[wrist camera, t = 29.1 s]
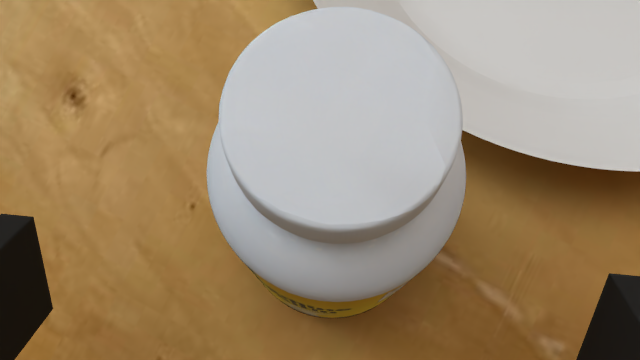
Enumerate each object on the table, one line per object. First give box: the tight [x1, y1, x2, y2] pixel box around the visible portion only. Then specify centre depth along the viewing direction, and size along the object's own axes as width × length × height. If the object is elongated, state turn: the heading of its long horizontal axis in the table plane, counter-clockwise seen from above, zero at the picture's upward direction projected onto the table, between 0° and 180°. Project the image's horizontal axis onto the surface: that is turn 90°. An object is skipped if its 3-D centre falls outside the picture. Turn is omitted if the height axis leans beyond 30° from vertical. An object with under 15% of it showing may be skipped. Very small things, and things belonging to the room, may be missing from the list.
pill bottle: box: [207, 7, 466, 318], centre depth 16 cm, size 6×6×12 cm
